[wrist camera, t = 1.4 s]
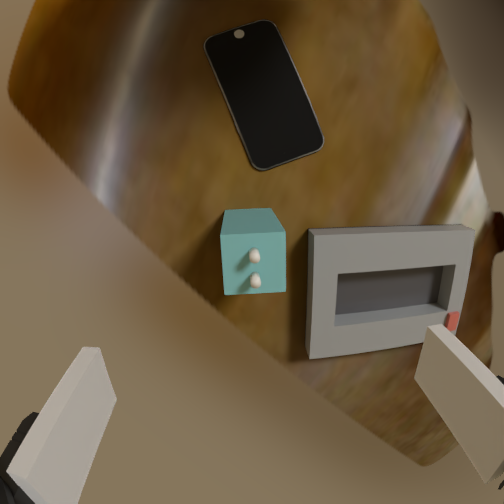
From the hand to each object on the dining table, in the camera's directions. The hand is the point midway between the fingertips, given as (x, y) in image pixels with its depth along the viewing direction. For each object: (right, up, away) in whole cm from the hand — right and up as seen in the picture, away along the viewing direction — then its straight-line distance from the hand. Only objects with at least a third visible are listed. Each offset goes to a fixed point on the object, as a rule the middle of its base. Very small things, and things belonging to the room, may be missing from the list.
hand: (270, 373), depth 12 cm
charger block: (-1, +7, +21) cm, 22 cm away
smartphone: (0, +20, +17) cm, 27 cm away
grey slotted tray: (+15, +1, +24) cm, 28 cm away
